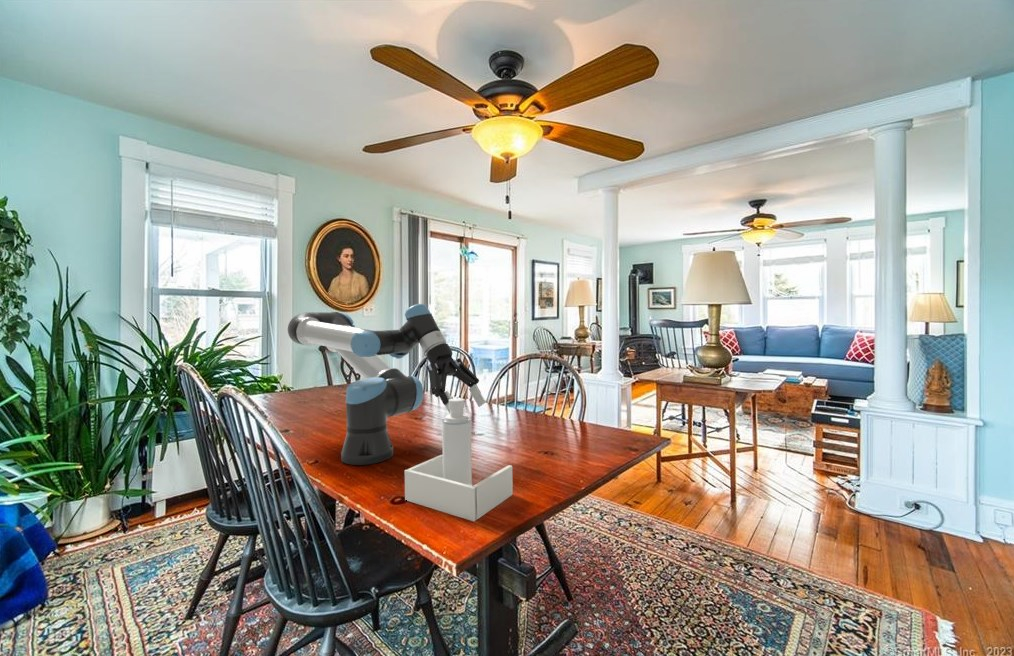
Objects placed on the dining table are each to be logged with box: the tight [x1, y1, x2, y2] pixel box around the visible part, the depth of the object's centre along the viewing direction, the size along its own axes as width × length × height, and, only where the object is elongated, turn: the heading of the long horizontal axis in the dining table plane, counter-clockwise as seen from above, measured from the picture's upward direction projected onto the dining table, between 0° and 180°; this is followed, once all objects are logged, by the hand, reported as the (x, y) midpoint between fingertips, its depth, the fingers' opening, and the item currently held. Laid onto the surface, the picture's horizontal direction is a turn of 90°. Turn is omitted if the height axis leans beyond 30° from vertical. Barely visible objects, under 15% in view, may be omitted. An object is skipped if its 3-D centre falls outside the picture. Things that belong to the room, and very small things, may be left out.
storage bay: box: [404, 453, 514, 522], centre depth 101 cm, size 20×16×7 cm
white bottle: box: [441, 397, 473, 486], centre depth 100 cm, size 7×7×25 cm
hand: (469, 409), depth 126 cm, fingers open, 13 cm apart
